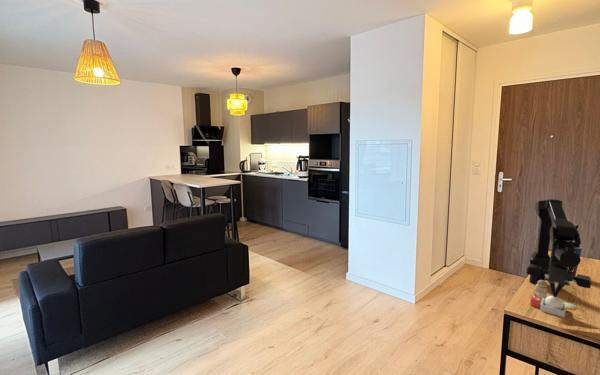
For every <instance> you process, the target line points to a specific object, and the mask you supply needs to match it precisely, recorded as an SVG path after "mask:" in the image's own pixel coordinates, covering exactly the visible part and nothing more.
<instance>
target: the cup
mask: <svg viewBox="0 0 600 375" xmlns="http://www.w3.org/2000/svg"><path fill="white" fill-rule="evenodd" d="M574 249H575V252H576V253H577V254H578V255H579V256H580V257H581V255H582V251H583V247H582V246H580V247H579V248H578V247H574ZM578 267H579V265H577V266H575V267H574V271H573V276H576V277H577V270H578Z"/></svg>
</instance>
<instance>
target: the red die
mask: <svg viewBox="0 0 600 375" xmlns="http://www.w3.org/2000/svg"><path fill="white" fill-rule="evenodd" d="M541 302H542V300H541V298H538V297H535V296H534V295H531V298H530V302H529V304H530V306H531V307H535V308H538V309H540V306H541Z"/></svg>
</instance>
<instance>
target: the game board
mask: <svg viewBox="0 0 600 375" xmlns="http://www.w3.org/2000/svg"><path fill="white" fill-rule="evenodd" d="M567 308H568V309H578V306H576V304H573V303H570V302H563V308H562V309H561V310H560V309H556V308H552V307H549V306H546V305H545V298H542V300H541V305H540V308H539V311H540V312H544V313H547V314H551V315H555V316H558V317H561V318H565V317H566V311H567Z"/></svg>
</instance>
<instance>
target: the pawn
mask: <svg viewBox="0 0 600 375" xmlns="http://www.w3.org/2000/svg"><path fill="white" fill-rule="evenodd" d="M547 285H548V284H547V281H546V280H545V281H544V280H539V281H538V282H537V284H536V285H534V286H535V287H534V294H533V296H535V297H538V298H541V301H542V298H545V299H546V298H547V297H548V296H547V295H548V288H549V287H548V286H547Z"/></svg>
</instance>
